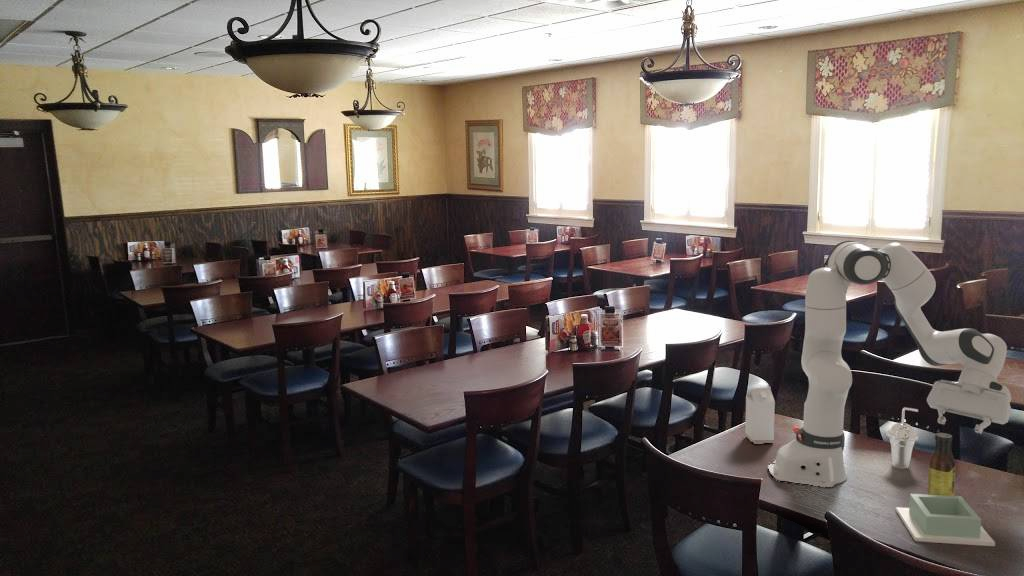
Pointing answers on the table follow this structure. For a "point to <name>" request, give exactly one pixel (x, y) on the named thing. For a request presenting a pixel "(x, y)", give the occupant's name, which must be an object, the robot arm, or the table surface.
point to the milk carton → (760, 414)
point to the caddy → (943, 520)
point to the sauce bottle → (942, 467)
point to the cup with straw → (902, 442)
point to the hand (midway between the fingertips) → (958, 427)
